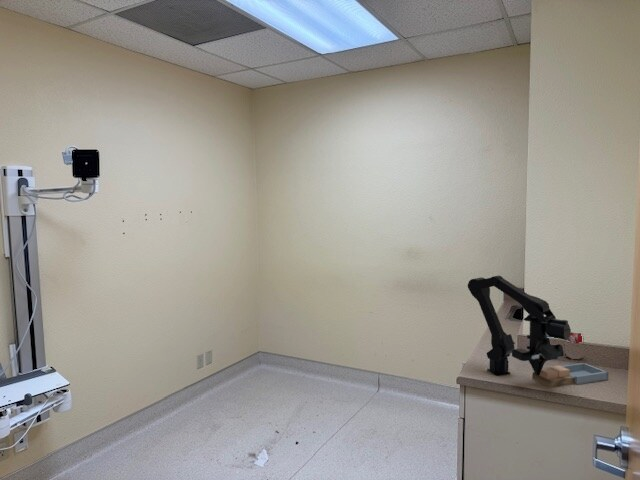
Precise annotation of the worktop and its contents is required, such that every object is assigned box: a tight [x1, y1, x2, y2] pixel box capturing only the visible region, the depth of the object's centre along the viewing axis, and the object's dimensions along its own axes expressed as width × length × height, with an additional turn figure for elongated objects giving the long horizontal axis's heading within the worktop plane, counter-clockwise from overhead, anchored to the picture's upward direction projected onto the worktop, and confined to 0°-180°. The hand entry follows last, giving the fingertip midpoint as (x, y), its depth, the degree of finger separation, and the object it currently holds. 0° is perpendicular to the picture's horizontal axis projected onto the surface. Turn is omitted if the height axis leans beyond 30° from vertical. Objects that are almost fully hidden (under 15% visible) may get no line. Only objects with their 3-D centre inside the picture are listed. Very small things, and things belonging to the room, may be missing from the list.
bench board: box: [532, 371, 576, 388], centre depth 167 cm, size 11×9×2 cm
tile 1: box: [540, 366, 558, 379], centre depth 166 cm, size 5×5×2 cm
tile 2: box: [548, 365, 570, 377], centre depth 168 cm, size 5×5×2 cm
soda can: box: [568, 332, 582, 344], centre depth 192 cm, size 7×7×12 cm
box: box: [561, 362, 609, 386], centre depth 171 cm, size 15×11×3 cm
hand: (537, 375), depth 165 cm, fingers closed
